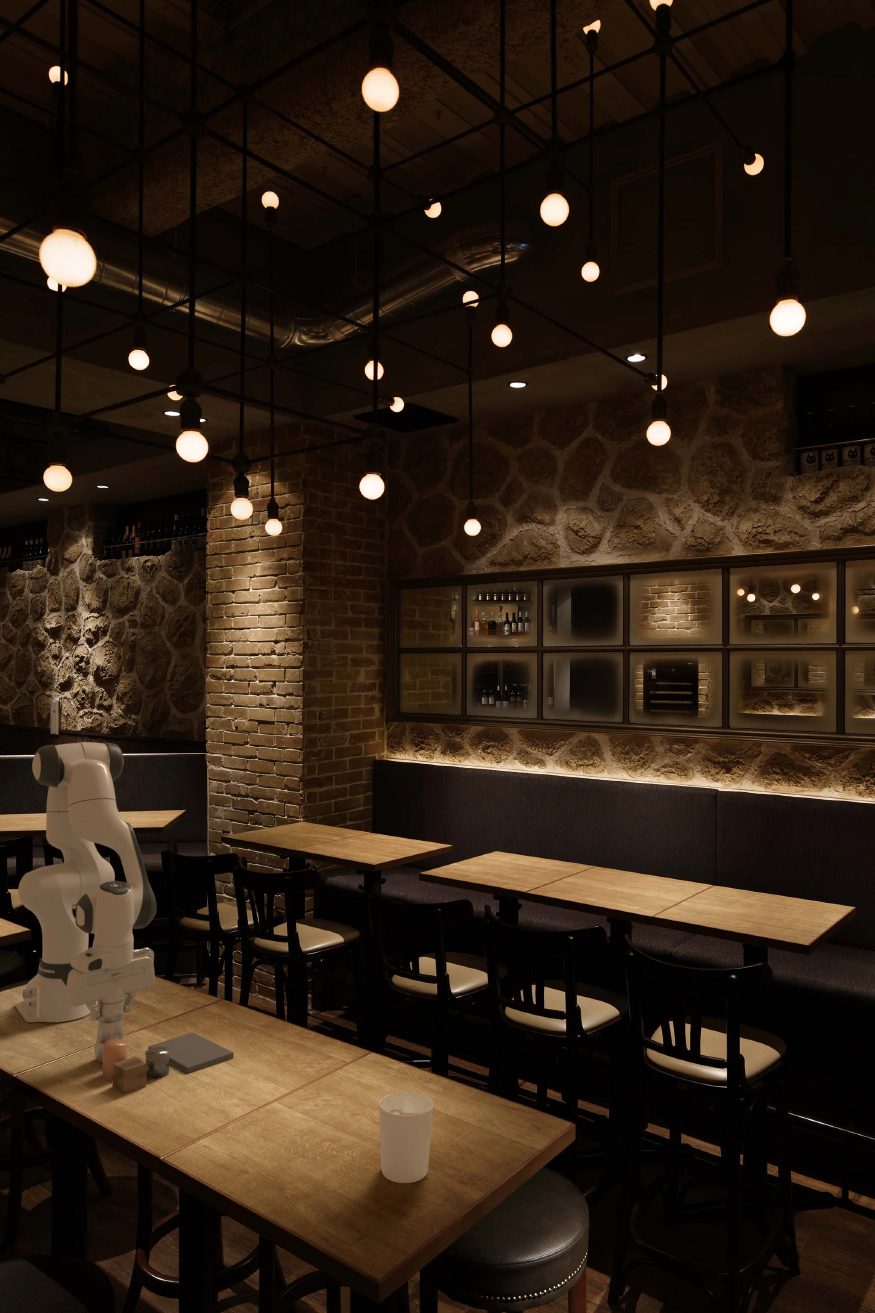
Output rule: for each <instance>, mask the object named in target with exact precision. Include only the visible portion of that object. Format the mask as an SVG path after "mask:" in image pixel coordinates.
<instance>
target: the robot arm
mask: <svg viewBox="0 0 875 1313" xmlns="http://www.w3.org/2000/svg"><path fill="white" fill-rule="evenodd" d="M124 760H125V759H124V756H123V751H122V749H121V748H120V747H119V745H118V744H116V743H111V742H107V741H104V742H102V743H101V742H94V741H93V742H92V741H91V742H90V741H89V742H87V741H83V742H82V741H80V742H72V743H63V744H57V745H55V744H47V745H43V746H41V747H39V748H38V749H37V750H36V751H35V753H34V757H33V759H32V765H31V766H32V768H31V769H32V773H33V776H34V779H35V781H36V783H38V784H40V785H41V786H44V787H48V791H47V796H46V797H47V800H46V815H45V816H46V825H45V826H46V829H45V832H46V834H45V836H46V837H45V838H46V840H47V842H48V843H49V845H51V846H52V847H54V848H56V849H58V850H60V851H61V853H62V855H63V860H64V861H63V863H57V864H52V865H51V864H50V865H46V866H41V867H39V868H35V869H34V870H31V871H29V872H26V873H25V874H24V875H23V876H22V878H21V880H20V881H19V885H18V890H17V891H18V892H17V893H18V897H19V900H20V903H21V904H22V905H23V906H24V907H25V908H26V909H27V910H29V911H31V912H32V913H33V914H34V915H35V917H36V918H37V920H38V921H39V925H40V927H41V928H40V929H41V935H42V958H39V959H38V960H39V962H38V963H39V965H38V970H37V974H36V975H35V976H34V977H32V979H30V980H29V981H28V982H27V984H26V986H25V989H23V990H22V999H19V1000H17V1001H16V1002H15V1005H14V1007H15V1008H16V1010H17V1011H18V1012H19V1014H20V1016H22V1019H24V1021H25V1022H26V1023H62V1022H63V1023H64V1022H70V1021H75V1020H78V1019H81V1018H84V1017H86V1016H88V1015H89V1018H90V1021H92V1022H96V1021H99V1019H100V1012H99V1011H98V1009H95V1007H98V1006H97V1001H99V1000H103V999H104V998H105V996H106V994H107V993H108V991H109V990H110V989H111V988H112V987H113V986H116V985H118V986H120V987H122V988H123V989H124V991H125V993H126V1000H125V1006H124V1012H123V1014H126V1013H129V1012H132V1004H133V1002H134V1000H135V998H136V997H137V992H139V991H142V990H146V989H150V988H152V987H153V985H154V984H155V980H156V979H155V978H156V977H155V967H154V961H155V953H154V951H153V949H151V948H149V947H143V948H139V949H134V940H135V939H134V934H133V929H134V930H137V929H144V928H145V927H147V926H148V925H149V924H150V923H151V922H152V920H154V918H155V916H156V914H157V909H158V908H157V907H158V906H157V900H156V896H155V893H154V891H153V888H152V886H151V884H150V882H149V878H148V875H147V874H148V873H147V871H146V868H145V863H144V860H143V856H142V853H141V849H140V846H139V842H138V840H137V839H138V838H137V836H136V833H135V831H134V828H133V827H132V825H131V823H130V822H127V821H126V820H124V818H123V817H122V815H121V814H120V812H119V809H118V807H117V806H118V805H117V801H116V800H117V798H116V793H115V786H114V781H116V780H117V779H118V778H119V777H120V776H121V775H122V773H123V768H124ZM95 844H98V845H101V846H105V847H108V848H109V849H112V850H114V851H115V852H116V853H117V855H118V856H119V858H120V861H121V864H122V867H123V872H124V875H125V879H126V882H125V881H119V880H115V879H116V878H115V876H116V874H115V870H114V868H113V866H112V865H111V863H110V862H108V861H107V860H106V859H104V858H103V857H102V856H101V855H100V853H99V852H98V850H97V847H96V845H95ZM73 905H75V913H73ZM89 934H93V935H94V938H93V942H92V946H91V947H89V939H90V938H89ZM117 973H119V974H120V978H119V981H118V982H114V983H113V981H114V980H111V976H112V974H117Z"/></svg>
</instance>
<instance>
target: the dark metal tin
mask: <svg viewBox="0 0 875 1313" xmlns="http://www.w3.org/2000/svg"><path fill="white" fill-rule="evenodd" d="M145 1063H147V1071H146V1079H150V1080H157V1079H163V1078H165V1077H167V1076H168V1075H169V1074H170V1070H169V1069H170V1063H169V1048H167V1047H154V1048H151V1049H147V1050H146V1051H145Z"/></svg>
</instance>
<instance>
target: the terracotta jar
mask: <svg viewBox="0 0 875 1313" xmlns="http://www.w3.org/2000/svg"><path fill="white" fill-rule="evenodd" d="M126 1059H128V1040H127V1039H111V1040H108V1041H106V1042H104V1044H103V1063H102V1064H101V1065H102V1069H101V1078H102V1079H103V1080H107V1081H113V1063H116V1062H120V1061H123V1060H126Z"/></svg>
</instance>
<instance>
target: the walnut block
mask: <svg viewBox="0 0 875 1313" xmlns="http://www.w3.org/2000/svg"><path fill="white" fill-rule="evenodd" d="M146 1071H147V1063H146V1061H143V1060H141V1059H140V1058H138V1057H136V1056H133V1057H129V1058H127V1059H126V1060H123V1061H120V1062H116V1063H113V1080H112V1084H111V1085H112V1088H114V1089H115V1090H117V1091H119V1092H120V1093H122V1094H123V1095H126V1094H129V1093H131V1092H134V1091H138V1090H141V1089H143V1088H147V1077H146Z"/></svg>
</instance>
